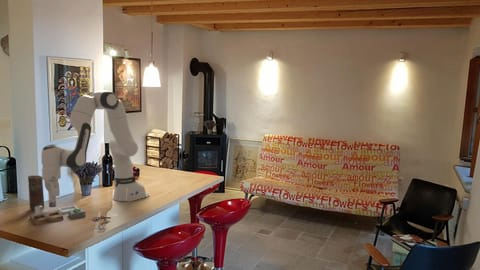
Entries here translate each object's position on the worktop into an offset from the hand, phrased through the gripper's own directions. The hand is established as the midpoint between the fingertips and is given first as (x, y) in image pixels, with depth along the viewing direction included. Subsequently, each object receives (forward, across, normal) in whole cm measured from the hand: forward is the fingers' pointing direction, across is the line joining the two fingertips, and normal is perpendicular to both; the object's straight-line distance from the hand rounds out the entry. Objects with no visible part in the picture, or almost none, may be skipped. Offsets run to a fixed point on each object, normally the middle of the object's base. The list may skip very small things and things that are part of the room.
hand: (52, 200), depth 198 cm
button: (+9, -4, -11) cm, 15 cm away
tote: (+10, +8, -9) cm, 16 cm away
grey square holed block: (+10, -4, -11) cm, 15 cm away
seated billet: (+10, 0, +7) cm, 12 cm away
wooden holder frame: (+10, 0, +3) cm, 11 cm away
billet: (+3, 0, 0) cm, 3 cm away
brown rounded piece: (+10, +20, +5) cm, 23 cm away
